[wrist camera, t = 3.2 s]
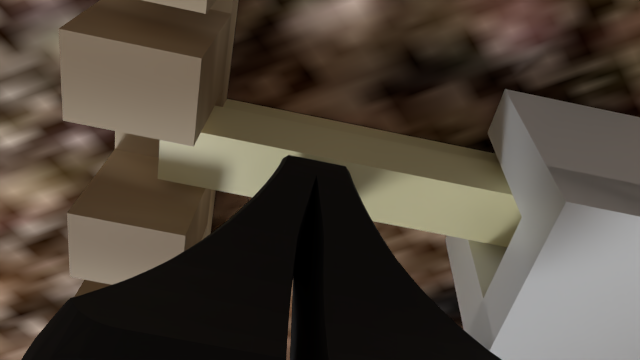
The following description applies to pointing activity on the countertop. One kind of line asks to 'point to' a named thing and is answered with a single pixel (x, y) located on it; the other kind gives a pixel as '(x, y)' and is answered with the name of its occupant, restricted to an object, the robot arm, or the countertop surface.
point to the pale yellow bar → (352, 169)
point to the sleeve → (559, 237)
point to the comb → (142, 126)
